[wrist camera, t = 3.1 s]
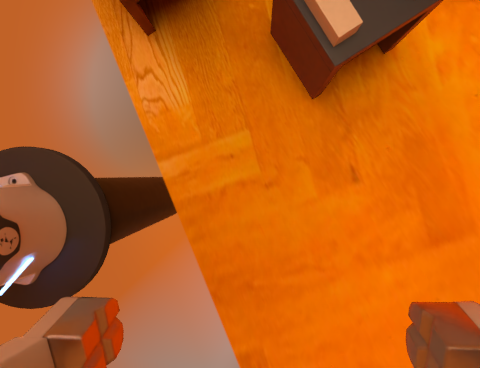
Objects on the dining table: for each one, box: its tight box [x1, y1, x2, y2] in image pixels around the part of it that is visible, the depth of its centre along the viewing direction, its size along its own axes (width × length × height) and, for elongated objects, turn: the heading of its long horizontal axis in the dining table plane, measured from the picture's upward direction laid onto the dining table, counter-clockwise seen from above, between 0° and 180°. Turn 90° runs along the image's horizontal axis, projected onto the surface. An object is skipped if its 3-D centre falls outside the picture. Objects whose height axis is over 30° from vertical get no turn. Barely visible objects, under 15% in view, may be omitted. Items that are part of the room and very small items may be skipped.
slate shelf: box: [271, 0, 443, 99], centre depth 42 cm, size 13×15×18 cm
